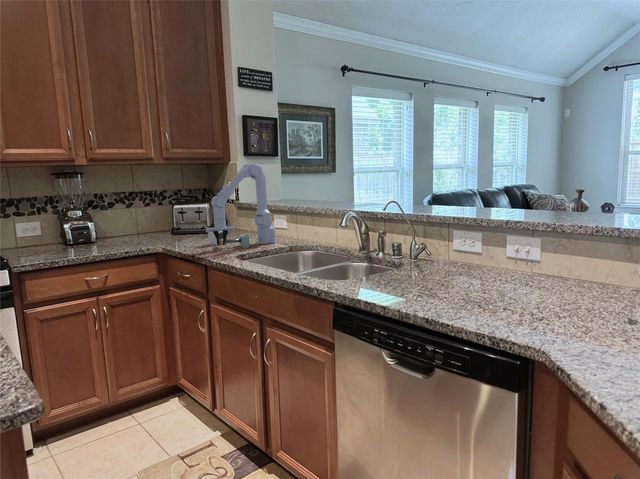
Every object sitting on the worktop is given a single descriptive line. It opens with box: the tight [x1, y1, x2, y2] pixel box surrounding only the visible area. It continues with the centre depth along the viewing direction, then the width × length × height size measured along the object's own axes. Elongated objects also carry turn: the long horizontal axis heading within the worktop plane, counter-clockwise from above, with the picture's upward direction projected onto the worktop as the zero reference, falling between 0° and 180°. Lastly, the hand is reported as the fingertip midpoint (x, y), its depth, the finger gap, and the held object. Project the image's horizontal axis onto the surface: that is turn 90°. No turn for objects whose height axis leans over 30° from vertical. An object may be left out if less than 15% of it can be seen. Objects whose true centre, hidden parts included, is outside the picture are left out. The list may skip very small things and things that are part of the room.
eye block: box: [239, 233, 250, 249], centre depth 248 cm, size 4×10×6 cm, turn 15°
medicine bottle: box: [207, 222, 228, 246], centre depth 258 cm, size 7×7×12 cm
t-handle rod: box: [219, 238, 241, 246], centre depth 246 cm, size 14×9×3 cm, turn 105°
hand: (221, 245), depth 242 cm, fingers closed on t-handle rod, 2 cm apart
